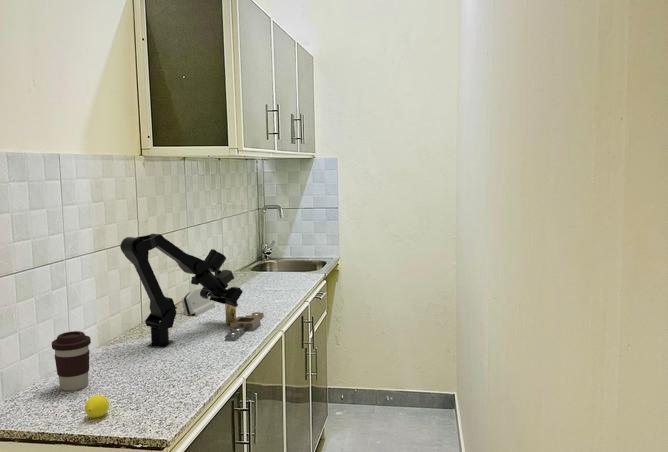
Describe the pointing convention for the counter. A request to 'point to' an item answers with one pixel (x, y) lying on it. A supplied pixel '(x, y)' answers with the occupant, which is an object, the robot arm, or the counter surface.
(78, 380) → the coffee cup
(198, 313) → the light grey block
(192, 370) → the counter surface
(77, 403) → the counter surface
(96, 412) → the lemon
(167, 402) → the counter surface
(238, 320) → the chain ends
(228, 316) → the brass pin
